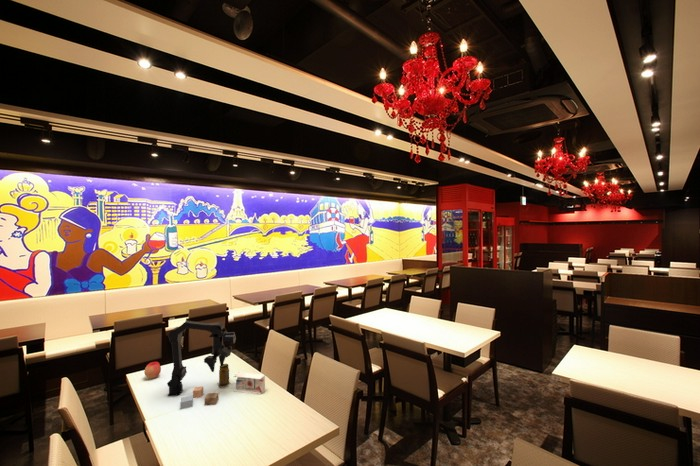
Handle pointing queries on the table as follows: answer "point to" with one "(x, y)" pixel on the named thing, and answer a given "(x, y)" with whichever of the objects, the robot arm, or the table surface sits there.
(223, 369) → the condiment
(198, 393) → the terracotta cube
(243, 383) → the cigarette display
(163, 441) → the table surface
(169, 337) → the robot arm
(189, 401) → the slate block
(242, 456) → the table surface
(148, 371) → the apple
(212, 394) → the walnut block
